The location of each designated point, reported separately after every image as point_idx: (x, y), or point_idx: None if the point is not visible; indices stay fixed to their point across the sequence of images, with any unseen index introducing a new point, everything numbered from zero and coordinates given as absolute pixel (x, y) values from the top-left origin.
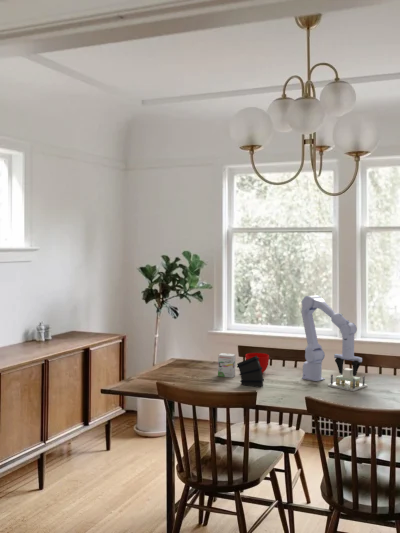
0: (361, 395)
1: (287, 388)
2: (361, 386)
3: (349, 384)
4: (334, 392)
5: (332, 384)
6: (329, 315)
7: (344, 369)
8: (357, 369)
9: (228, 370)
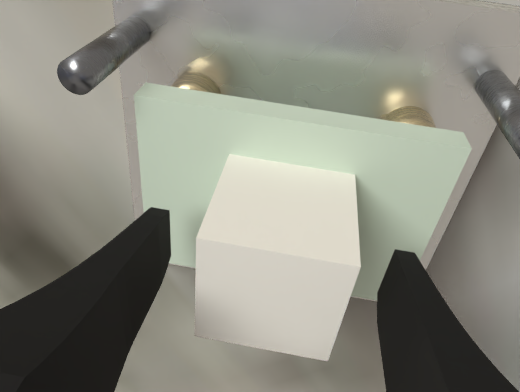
0: (501, 362)
1: None
2: (472, 173)
3: None
4: (287, 364)
5: None
6: None
7: (227, 341)
8: (458, 334)
9: None
